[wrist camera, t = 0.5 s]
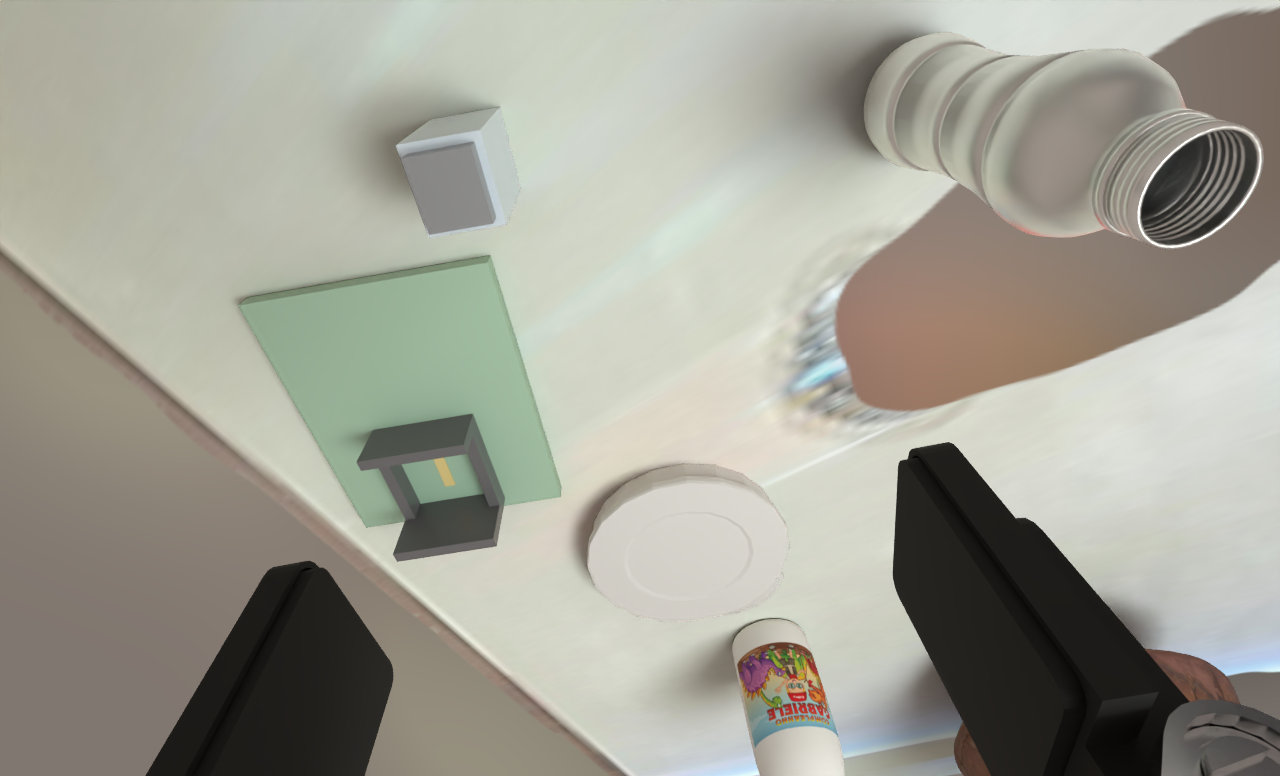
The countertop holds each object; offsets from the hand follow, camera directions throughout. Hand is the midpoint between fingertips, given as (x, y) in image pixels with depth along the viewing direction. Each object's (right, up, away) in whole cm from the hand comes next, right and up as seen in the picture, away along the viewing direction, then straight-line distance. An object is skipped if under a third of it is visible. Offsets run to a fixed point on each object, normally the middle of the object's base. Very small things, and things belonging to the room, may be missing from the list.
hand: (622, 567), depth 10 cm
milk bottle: (+14, -23, +53) cm, 59 cm away
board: (-16, +2, +34) cm, 38 cm away
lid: (+5, -11, +44) cm, 46 cm away
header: (-15, -3, +36) cm, 39 cm away
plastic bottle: (+16, +20, +25) cm, 35 cm away
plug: (-9, +17, +25) cm, 31 cm away
